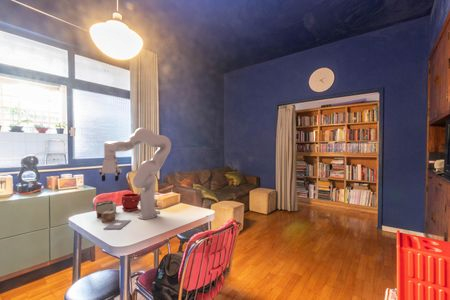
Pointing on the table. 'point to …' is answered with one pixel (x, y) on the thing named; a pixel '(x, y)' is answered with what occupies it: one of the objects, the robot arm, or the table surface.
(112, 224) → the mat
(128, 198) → the plant pot
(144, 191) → the robot arm
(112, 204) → the grey narrow block
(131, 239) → the table surface
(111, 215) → the walnut block
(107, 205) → the food container
